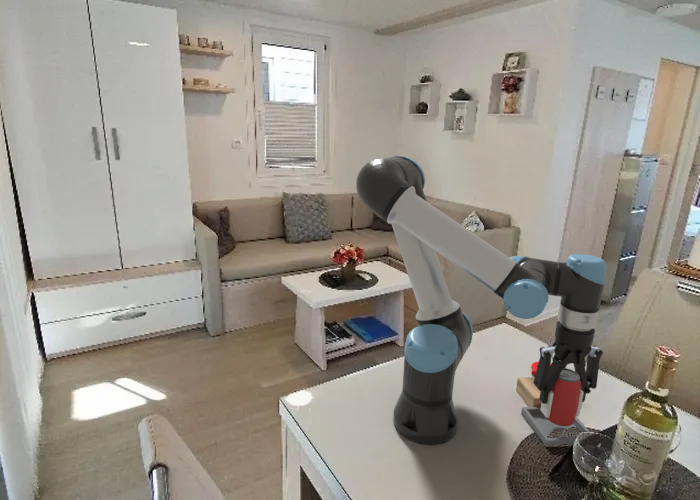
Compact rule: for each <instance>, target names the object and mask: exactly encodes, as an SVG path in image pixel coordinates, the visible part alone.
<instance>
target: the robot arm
mask: <svg viewBox="0 0 700 500" xmlns="http://www.w3.org/2000/svg"><path fill="white" fill-rule="evenodd" d="M425 177H426V176H425V173H424V170H423V168H422V166H421V165H420V164H419V163H418V162H417V161H415V160H414V159H412V158H410V157H407V156H402V155H395V156H392V157H391V156H390V157H383V158H382V157H381V158H376V159H372V160H370V161H369V162H368V161H367V163H365V165H364V166H363V167H362V168H361V169H360V171H359V173H358V175H357V177H356V186H355V187H356V192H357V195H358V197H359V199H360V201H361V202H362V203H363V205H365V207H366V208H367V209H369V211H371V212H372V213H374V214H375V215H376V216H377V217H379V218H380V219H382V220H383V221H384V222H385V223H387V224H389V225H391V226H392V229H393V230H392V231H393V234H394V236H395V239H396V242H397V245H398V248H399V251H400V254H401V258H402V260H403V263H404V267H405V269H406V273H407V277H408V278H409V282H410V285H411V287H412V290H413V293H414V298H415V301H416V303H417V307H418V310H417V312H416V314H415V320H416V322H417V323H416V324H417V325H418V326H416V327H414V328H412V329H411V330H410V331H409V333H408V334H407V336H406V340H405V343H404V349H403V350H404V351H403V352H404V360H403V361H404V362H403V375H402V376H403V377H402V391H401V393H400V395H399V397H398V399H397V401H396V404H395V406H394V408H393V417H392V421H393V424H394V426H395V429H396V430H397V431H398V433H400V434H401V435H402V436H403V437H405V438H406V439H408V440H410V441H412V442H415V443H418V444H421V445H440V444H443V443H447V442H448V441H450V440H451V439H452V438H454V437H455V435H456V432H457V427H458V415H457V412H456V407H455V405H454V400H453V392H454V383H455V376H456V370H457V369H458V367H459V365H460V363H461V361H462V359H463V358H464V357H465V354H466V352H467V351H468V349H469V347H470V346H471V343H472V340H473V333H474V332H473V329H474V328H473V325H472V321H471V320H470V319H469V316H468V315H467V314H466V313H464V312H463V311H462V309H461V306H460V304H459V302H457V301H456V300H453V299H452V298H451V294H450V291H449V287H448V284H447V281H446V279H445V276H444V272H443V268H442V266H441V263H440V259H439V256H442V257H443V258H445V259H446V260H447V261H449V262H450V263H452V264H453V265H454V266H456V267H457V268H458V269H460V270H461V271H462V272H463V273H465V274H467V275H469V276H470V277H471V278H473V279H474V280H475V281H477V282H478V283H480V284H481V285H483V286H484V287H485V288H487V289H488V290H489V291H491V292H492V293H494V294H495V295H497V296H498V297H499V298H500V299H501V300H503V302H504V303H503V304H504V306H505V308H506V310H507V311H508V312H509V313H510V314H511V315H512V316H514V318H515V317H516V318H518V319H521V320H522V319H523V320H531V319H533V318H534V319H535V318H536V317H538V316H539V315H541V314H542V313H543V311H544V310H545V307H546V306H547V303H548V302H549V296H554V297H560V302H559V307H558V314H557V318H556V319H557V322H556V325H555V331H554V338H555V339H554V342H553V343H552V347H549V348H547V347H544V346H541V347H539V356H540V357H539V359H538V362H539V363H538V367H537V371H536V374H535V375H534V377H535V378H534V382H533V383H534V385H535V386H536V387H537V388H538V389H539V390H540V391H541V392H540V401H541V402H542V403H541V409H540V410H541V412H542V413H543V414H544V415H545V417H546V418H549V417H550V412H551V406H552V400H553V395H554V393H553V392H552V391H551V390H552V388H553V386H554V384H555V382H556V381H557V379H558V377H559V375H560V373H561V372H562V370H563V369H565V368H567V366H568V365H570V364H573V367H574V371H575V372H576V373H578V374H579V376H580V381H581V391H580V396H579V401H578V406H577V411H576V417H577V418H578V417H580V413H581V408H582V405H583V404H582V403H585V401H586V396H587V394H588V395H589V394H590V393H591V392H592V390H593V389H594V390H595V389H596V388H597V386H598V378H599V377H598V376H599V369H600V368H599V367H600V360H601V358H602V356H603V353H604V351H603V350H602V349H600V348H599V347H598V346H596V345H594V344H593V343H594V337H595V334H596V333H595V332H596V329H595V328H596V327H597V322H598V319H599V318H598V317H599V313H600V308H601V307H600V306H601V302H602V297H603V293H604V289H605V284H606V276H607V270H608V264H607V263H606V261H605V260H604V259H603V258H601V257H599V256H595V255H591V254H585V253H582V254H579V253H574V254H570V255H569V256H568V257H567V260H566V262H564V261H562V262H560V261H554V260H553V261H552V260H549V259H548V260H547V259H541V258H534V257H528V256H525V255H524V256H520V255H519V256H517V255H513V256H510V257H508V256H507V255H506V254H504V253H503V252H502V251H500V250H498V249H497V248H495V246H493V245H491V244H490V243H488V242H487V241H485V240H484V239H483V238H481V237H479V236H478V235H476V234H475V233H474V232H473V231H471V230H469V229H468V228H466V227H465V226H463V225H462V224H460V223H459V222H458V221H456V220H454V219H453V218H452V217H451V216H449V215H447V214H446V213H444V212H442V211H441V210H440V209H438V208H437V207H435V206H434V205H433V204H432V203H429V202H428V201H427V198H426V194H425V191H424V188H425V184H426V183H425V182H426V178H425ZM437 253H438V254H437ZM438 255H439V256H438ZM586 357H587V359H585V358H586ZM550 364H551V366H550ZM591 389H592V390H591Z"/></svg>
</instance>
